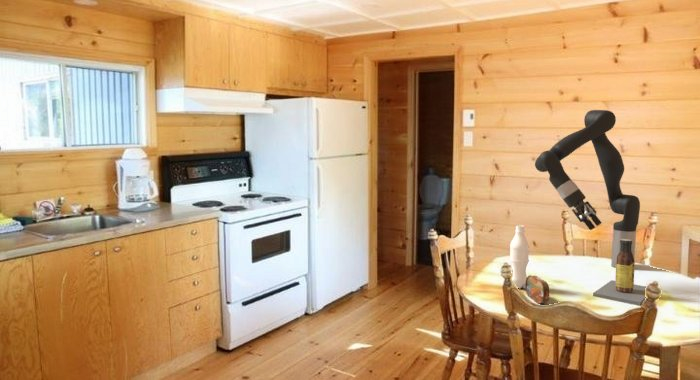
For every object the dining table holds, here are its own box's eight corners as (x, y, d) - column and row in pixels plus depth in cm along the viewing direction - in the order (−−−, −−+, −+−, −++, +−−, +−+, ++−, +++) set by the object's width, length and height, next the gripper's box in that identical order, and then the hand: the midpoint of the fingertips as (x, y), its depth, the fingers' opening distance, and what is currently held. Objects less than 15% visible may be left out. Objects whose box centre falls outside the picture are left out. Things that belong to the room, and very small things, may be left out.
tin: (524, 293, 198) (525, 272, 197) (532, 293, 198) (532, 272, 198) (542, 307, 183) (542, 284, 182) (550, 306, 184) (551, 283, 183)
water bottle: (527, 285, 208) (529, 224, 206) (527, 290, 202) (529, 228, 199) (509, 283, 211) (511, 223, 208) (508, 288, 204) (510, 227, 201)
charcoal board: (611, 283, 210) (611, 280, 210) (655, 291, 199) (655, 288, 199) (593, 296, 194) (593, 293, 194) (639, 305, 184) (640, 302, 183)
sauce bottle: (635, 293, 193) (638, 242, 191) (617, 292, 194) (620, 241, 192) (629, 288, 199) (632, 238, 197) (612, 287, 201) (615, 237, 198)
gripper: (572, 191, 201) (598, 225, 197) (583, 185, 212) (609, 218, 207) (556, 201, 206) (582, 235, 201) (569, 196, 217) (593, 228, 212)
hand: (596, 226), depth 204 cm, fingers open, 8 cm apart
